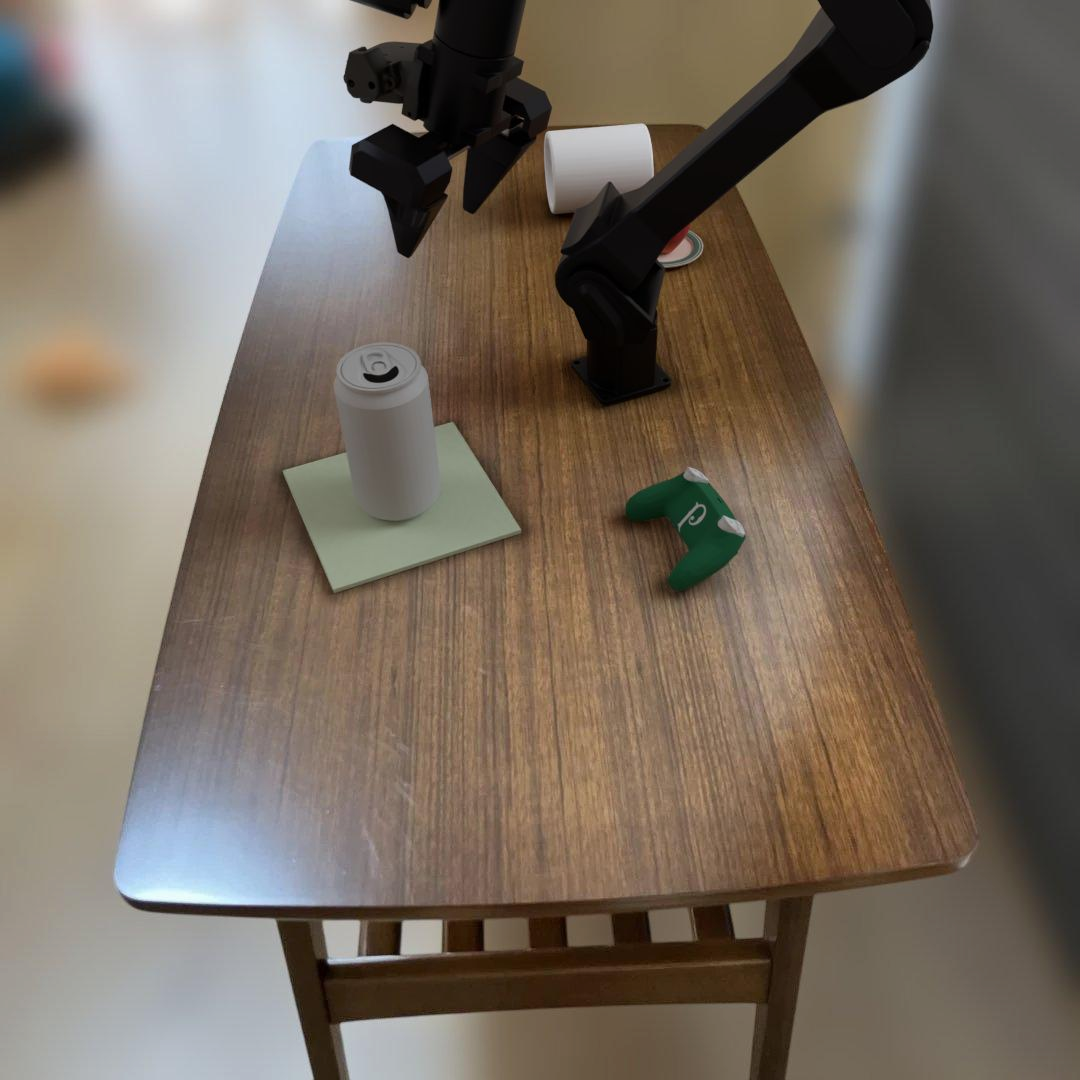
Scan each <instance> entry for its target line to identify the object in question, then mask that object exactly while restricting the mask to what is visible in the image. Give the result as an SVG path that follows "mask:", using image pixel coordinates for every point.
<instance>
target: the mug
mask: <svg viewBox="0 0 1080 1080" xmlns="http://www.w3.org/2000/svg"><path fill="white" fill-rule="evenodd" d="M543 140H544V141H543V162H544V163H543V165H544V177H545V179H544V180H545V187H546V196H547V201H548V206H549V209H550V213H552V214H553V215H559V214H560V215H561V214H562V215H563V214H571V213H572V214H574V213H575V211H576V209H578V208H581V207H583V206H586V205H587V204H589V203H590V202H592V201H593V200H594V199H595V198H596V197H597V195H598V194H599V193H600V191H601V190H602V189H603V187H604V186H605V185H606V184H607V183H608V182H609V181H610V182H612V183H613V185H614V186H615V188H616V189H617V190H618V192H619V193H620V194H623V193H626V192H629V191H632V190H635V189H638V188H640V187H641V186H643V185H644V184H646V183H647V182H648V181H649V180H650V179H651V178H652V177H654V176H655V175H654V174H655V171H654V169H655V168H654V167H655V166H654V153H653V145H652V140H651V135H650V131H649V129H648V127H647V125H646V124H644V123H631V124H618V125H607V126H594V127H582V128H580V127H579V128H570V129H569V128H568V129H559V130H558V129H557V130H548V131H546V132H545V135H544V139H543Z"/></svg>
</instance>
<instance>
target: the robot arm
mask: <svg viewBox="0 0 1080 1080" xmlns="http://www.w3.org/2000/svg"><path fill="white" fill-rule="evenodd" d="M349 1H351V2H354V3H356V4H359V5H363V6H364V7H365V6H366V7H369V8H371V9H375V10H376V11H377V10H378V11H381V12H383V13H387V14H390V15H392V16H396V17H399V18H400V19H404V20H409V19H410V18H411V17H412V16H413V15H414V13H415V11H416V8H417V7H419V8H422V9H425V10H427V9H429V8H430V6H431V4H432V2H433V0H349ZM817 2H818V4H819V6H820V8H819V9H818V11H817V12H816V13H815V15H814V17H813V18H812V20H811V21H810V22H809V24H808V26H807V27H806V28H805V30H804V32H803V33H802V35H801V36H800V38H799V39H798V41H797V42H796V44H795V46H794V47H793V48H792V50H791V51H790V52H789V53H788V55H786V57H785V58H784V59H783V60H782V61H781V62H780V63H779V64H777V65H776V66H775V67H774V68H773V69H772V70H771V71H769V73H767V74H766V75H765V76H764V77H763V78H762V79H761V80H760V81H758V82H757V83H756V84H755V85H754V86H753V87H752V88H751V89H749V90H748V91H747V92H746V93H745V94H744V95H743V96H742V97H740V99H738V100H737V101H736V102H735V103H734V104H732V106H731V107H729V108H728V109H727V110H726V111H725V112H724V113H722V115H720V116H719V117H718V118H717V119H716V120H714V122H713V123H712V124H710V125H709V126H708V127H707V128H706V129H704V131H702V132H701V134H699V135H698V136H697V137H696V138H695V139H694V140H692V142H690V143H689V144H688V145H687V146H686V147H685V148H683V149H682V150H681V151H680V152H679V153H678V154H677V155H676V156H675V157H673V158H672V159H671V160H670V161H669V162H668V163H666V165H664V167H662V168H661V169H660V170H659V171H658V172H657V173H655V175H654V177H652V178H651V179H650V180H649V181H648V182H647V183H646V184H644V185H643V186H641V187H640V188H638V189H635V190H632V191H629V192H626V193H623V194H620V193H619V192H618V190H617V189H616V188H615V186H614V185H613V183H612V182H610V181H609V182H608V183H607V184H606V185H605V186H604V187H603V189H602V190H601V191H600V193H599V194H598V195H597V197H596V198H595V199H594V200H593V201H592V202H590V203H589V204H587V205H586V206H583V207H581V208H578V209H576V211H575V212H573V216H572V218H571V221H570V224H569V227H568V230H567V232H566V234H565V237H564V240H563V242H562V245H561V248H560V254H561V257H560V260H559V262H558V265H557V268H556V270H555V273H554V282H555V284H554V285H555V286H554V287H555V289H556V291H557V294H558V296H559V297H560V298H561V300H562V301H563V302H564V303H565V305H567V306H568V307H570V309H572V311H573V313H574V315H575V319H576V321H577V323H578V325H579V328H580V331H581V333H582V335H583V337H584V339H585V340H586V356H582V357H578V358H575V359H573V360H571V363H570V367H571V370H572V371H574V373H575V374H576V375H577V377H578V378H579V380H581V382H582V383H583V384H584V385H585V387H586V388H587V389H588V391H589V392H590V393H591V394H592V395H593V397H594V398H595V399H596V400H597V401H598V403H599V404H600V405H601V406H610V405H613V404H616V403H621V402H623V401H627V400H630V399H634V398H637V397H640V396H643V395H644V396H645V395H647V394H651V393H654V392H657V391H661V390H664V389H668V388H670V387H671V386H672V378H671V377H670V376H669V375H668V374H667V373H666V372H665V371H664V369H663V368H662V367H661V366H660V365H659V364H658V363H657V352H658V333H659V332H658V331H659V326H658V318H659V317H658V316H659V312H658V309H657V307H658V303H659V298H660V294H661V290H662V285H663V283H664V278H665V273H666V268H665V267H664V266H663V265H662V264H661V263H660V262H659V261H658V260H657V258H658V257H659V255H660V254H661V252H662V251H663V249H664V248H665V246H666V245H667V244H668V242H669V241H670V240H671V239H672V238H673V237H674V236H676V235H677V234H678V233H679V232H680V231H682V230H683V229H684V228H685V227H686V226H688V225H689V224H690V225H691V223H693V222H694V221H695V220H696V219H697V218H699V217H700V216H701V215H702V214H703V213H705V212H706V211H707V210H708V209H709V208H711V207H712V206H713V205H714V204H715V203H716V202H718V201H719V200H720V199H721V198H722V197H724V196H725V195H726V194H727V193H728V192H730V191H731V190H732V189H733V188H734V187H736V186H737V185H738V184H739V183H740V182H742V181H743V180H744V179H745V178H747V177H748V176H749V175H750V174H752V173H753V172H754V171H755V170H756V169H758V168H759V167H760V166H761V165H762V164H763V163H764V162H766V161H767V160H768V159H769V158H770V157H772V156H773V155H774V154H776V152H778V151H779V150H780V149H781V148H782V147H783V146H785V145H786V144H788V142H790V141H791V140H792V139H793V138H794V137H796V136H797V135H798V134H799V133H801V132H802V131H803V130H804V129H805V128H806V127H808V126H809V125H810V124H812V122H813V121H815V120H816V119H817V118H819V117H820V116H822V115H823V114H825V113H827V112H829V111H833V110H835V109H839V108H842V107H844V106H847V105H851V104H853V103H856V102H859V101H862V100H865V99H866V98H868V97H869V96H871V95H873V94H875V93H876V92H878V91H880V90H881V89H883V88H884V87H886V86H888V85H890V84H892V83H893V82H895V81H897V80H898V79H900V78H902V77H903V76H905V75H906V74H909V72H911V71H913V70H914V69H915V67H917V65H918V64H919V63H920V62H921V61H922V60H923V59H924V58H925V57H926V54H927V53H928V51H929V50H930V46H931V43H932V38H933V37H932V36H933V32H934V19H933V12H932V5H931V0H817ZM526 5H527V0H438V6H437V11H436V17H435V22H434V28H433V29H434V30H433V36H432V38H431V39H428V40H427V41H425V42H422V43H421V42H410V41H409V42H407V41H385V42H380V43H378V44H376V45H374V46H371V47H369V48H367V46H364V45H363V46H362V45H361V46H360V47H358V48H356V49H353V50H351V51H348V56H347V59H346V65H345V68H344V74H343V75H342V77H343V81H344V84H345V85H346V91H347V93H349V95H350V96H351V97H352V98H354V99H359V101H360V103H363V104H369V105H370V104H372V103H373V102H378V103H386V104H395V105H402V108H401V113H400V114H401V115H402V116H404V117H406V118H407V119H410V120H411V121H414V122H416V121H418V120H419V121H421V122H423V123H422V127H423V128H424V129H425V130H426V131H427V132H426V133H424V134H422V135H421V136H417V135H415V134H413V133H411V132H409V131H407V130H405V129H403V128H402V127H401V126H398V125H396V124H394V123H391V124H389V125H387V126H385V127H383V128H381V129H379V130H378V131H376V132H373V133H372V134H370V135H368V136H366V137H364V138H362V139H361V140H359V141H356V142H355V143H353V144H352V145H351V149H350V156H349V165H348V171H349V175H350V176H351V177H353V178H354V179H357V180H358V181H360V182H362V183H363V184H365V185H368V187H369V186H370V187H371V188H373V189H374V190H376V191H379V192H380V193H381V195H382V197H383V199H384V202H385V206H386V209H387V212H388V216H389V221H390V226H391V229H392V234H393V239H394V243H395V247H396V248H395V249H396V251H397V253H398V254H399V255H401V256H403V257H404V258H407V259H410V258H411V257H413V255H414V254H415V252H416V250H417V249H418V248H419V246H420V244H421V243H422V241H423V239H424V238H425V236H426V234H427V233H428V231H429V229H430V227H431V226H432V224H433V223H434V222H435V219H436V218H437V216H438V214H439V213H440V211H441V210H442V207H443V206H444V204H445V203H446V201H447V199H448V198H449V194H448V193H445V191H446V190H447V189H448V187H449V185H450V183H451V180H452V173H453V167H452V165H451V162H450V161H451V160H453V159H454V158H456V157H457V156H459V155H461V154H462V153H464V152H466V159H465V168H464V178H463V188H462V209H463V210H464V211H465V212H467V213H468V214H470V215H475V214H476V213H477V212H478V211H479V209H480V208H481V207H482V205H483V204H484V203H485V202H486V201H487V200H488V198H489V197H490V196H491V195H492V193H493V192H494V191H495V189H496V188H497V187H498V186H499V184H500V183H501V182H502V181H503V179H504V178H505V177H506V176H507V175H508V173H509V172H510V171H511V170H512V169H513V168H514V167H515V165H516V164H517V163H518V162H519V161H520V159H521V158H522V157H523V156H524V154H525V153H526V152H527V151H528V150H529V148H530V147H532V145H534V144H535V143H536V141H537V139H538V135H540V134H541V133H543V132H545V131H547V130H548V127H549V122H550V118H551V113H552V110H553V106H552V104H551V101H550V99H549V97H548V94H547V93H546V91H545V90H543V89H542V88H539V87H537V86H536V85H534V84H531V83H530V82H527V81H526V80H523V79H521V78H520V76H521V75H522V72H523V67H524V65H525V64H524V63H525V60H522V59H521V58H519V57H517V56H515V55H516V54H515V53H516V49H517V44H518V41H519V35H520V31H521V27H522V23H523V17H524V13H525V9H526Z"/></svg>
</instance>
